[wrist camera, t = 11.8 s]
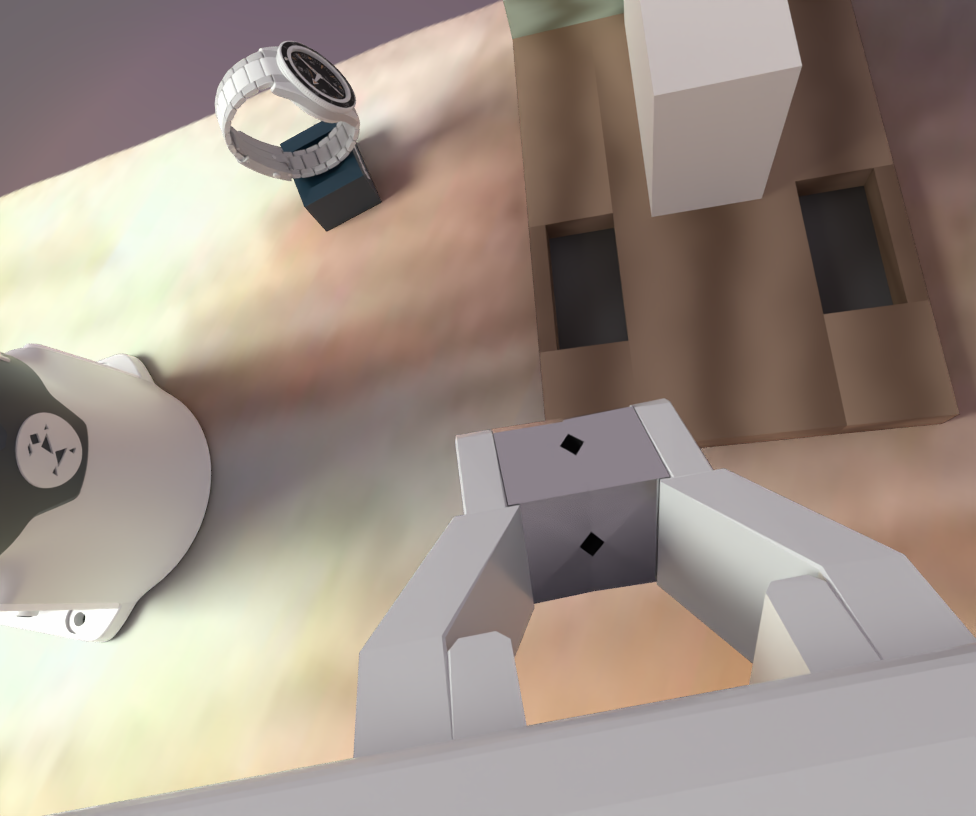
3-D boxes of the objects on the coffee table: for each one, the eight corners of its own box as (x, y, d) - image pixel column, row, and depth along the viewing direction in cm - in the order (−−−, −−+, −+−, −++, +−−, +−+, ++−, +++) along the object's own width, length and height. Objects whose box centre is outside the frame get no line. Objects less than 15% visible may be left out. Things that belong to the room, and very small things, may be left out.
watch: (407, 188, 45) (335, 69, 34) (304, 243, 45) (203, 142, 35) (379, 128, 46) (303, -2, 36) (281, 182, 47) (178, 69, 37)
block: (651, 217, 38) (654, 95, 29) (624, 21, 42) (618, -142, 32) (761, 198, 37) (802, 65, 27) (723, -1, 41) (747, -178, 31)
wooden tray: (553, 462, 38) (539, 445, 33) (516, 38, 46) (501, -25, 41) (941, 423, 34) (990, 397, 29) (825, -35, 42) (848, -113, 37)
